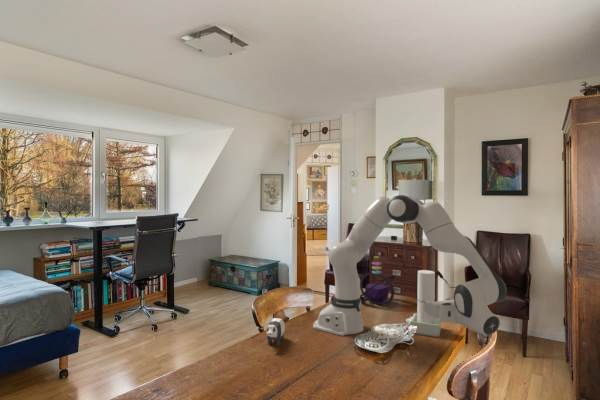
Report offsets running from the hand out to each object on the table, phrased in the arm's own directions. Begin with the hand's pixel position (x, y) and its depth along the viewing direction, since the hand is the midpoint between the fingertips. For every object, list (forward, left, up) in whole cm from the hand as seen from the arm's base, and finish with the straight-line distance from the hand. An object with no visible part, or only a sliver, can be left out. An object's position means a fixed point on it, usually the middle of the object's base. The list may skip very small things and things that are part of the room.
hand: (437, 301), depth 154 cm
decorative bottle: (-34, +38, -15) cm, 54 cm away
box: (-5, +6, -15) cm, 17 cm away
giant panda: (-59, -33, -15) cm, 70 cm away
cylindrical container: (-5, +6, -15) cm, 17 cm away
